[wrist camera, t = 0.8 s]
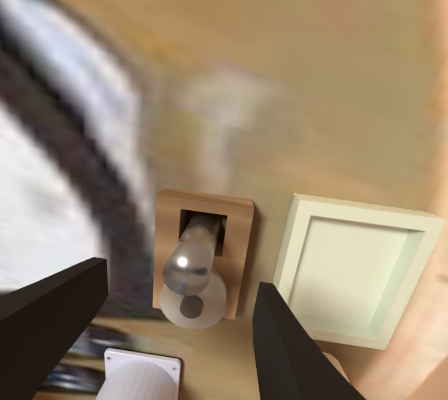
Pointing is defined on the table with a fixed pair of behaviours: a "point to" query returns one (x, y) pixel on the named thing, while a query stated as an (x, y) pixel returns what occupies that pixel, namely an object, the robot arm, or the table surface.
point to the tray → (352, 266)
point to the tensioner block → (222, 262)
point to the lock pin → (193, 256)
